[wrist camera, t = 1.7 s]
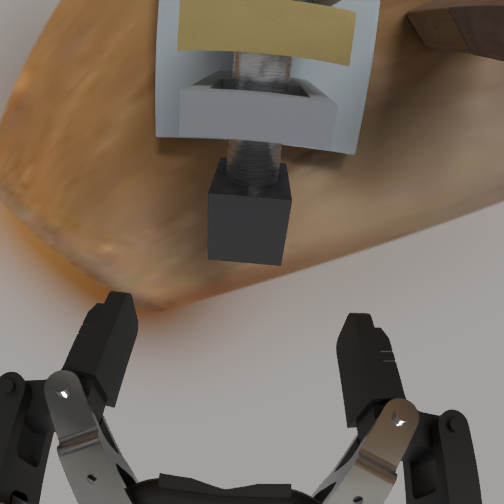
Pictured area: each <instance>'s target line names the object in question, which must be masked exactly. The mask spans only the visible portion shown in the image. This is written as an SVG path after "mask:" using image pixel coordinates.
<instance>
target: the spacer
mask: <svg viewBox="0 0 504 504" xmlns="http://www.w3.org/2000/svg"><path fill="white" fill-rule="evenodd" d="M355 20H356V12H353V11H349V10H344V9H340V8H335V7H330V6H325V5H319V4H313V3H307V2H301V1H293V0H180V9H179V23H178V39H177V51H190V50H204V51H236V52H252V53H264V54H274V55H283V56H291V57H299V58H306V59H312V60H318V61H324V62H330V63H335V64H340V65H345V66H349V65H350V58H351V51H352V44H353V36H354V28H355Z"/></svg>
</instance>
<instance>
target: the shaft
mask: <svg viewBox="0 0 504 504" xmlns="http://www.w3.org/2000/svg"><path fill="white" fill-rule="evenodd" d="M293 1H299V0H293ZM292 60H293V57H291V56H283V55H274V54H264V53H252V52H236V51H234V62H233V75H232V89H231V90H246V91H258V92H269V93H278V94H287V95H288V94H289V85H290V77H291V68H292ZM281 150H282V144H281V143H271V142H261V141H250V140H237V139H228V152H227V158H221V160H220V162H219V165H218V168H217V170H216V173H215V176H214V179H213V181H212V184H211V187H210V190H209V193H208V259H211V260H222V261H233V262H244V263H255V264H267V265H278V266H281V262H282V256H283V251H284V245H285V239H286V233H287V227H288V221H289V215H290V209H291V203H292V198H291V191H290V185H289V179H288V172H287V166H286V164H285V163H280V158H281Z"/></svg>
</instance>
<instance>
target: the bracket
mask: <svg viewBox="0 0 504 504" xmlns="http://www.w3.org/2000/svg"><path fill="white" fill-rule="evenodd" d="M299 1H301V2H307V3H313V4H319V5H325V6H330V7H335V8H340V9H344V10H349V11H353V12H356V20H355V28H354V36H353V44H352V51H351V58H350V65H349V66H345V65H340V64H335V63H330V62H324V61H318V60H312V59H306V58H299V57H293V60H292V68H291V77H290V85H289V94H288V95H287V94H278V93H269V92H258V91H246V90H231V89H232V75H233V62H234V51H204V50H190V51H177V39H178V23H179V9H180V0H159V7H158V22H157V41H156V74H155V121H156V137H176V138H203V139H221V140H228V139H237V140H250V141H261V142H271V143H281V144H282V145H288V146H296V147H304V148H312V149H319V150H326V151H333V152H339V153H345V154H352V155H355V152H356V147H357V142H358V137H359V132H360V128H361V122H362V117H363V112H364V107H365V101H366V96H367V90H368V84H369V78H370V72H371V66H372V60H373V53H374V46H375V39H376V32H377V24H378V15H379V7H380V0H299Z"/></svg>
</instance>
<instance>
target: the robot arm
mask: <svg viewBox="0 0 504 504" xmlns="http://www.w3.org/2000/svg"><path fill="white" fill-rule="evenodd" d="M137 332H138V319H137V315H136V311H135V307H134V303H133V298H132V295H131V294H130V293H124V292H116V291H111V292H110V293H109V294H108V297H107V299H106V301H105V303H104V304H101V303H97V304H96V305H95V306H94V307H93V308H92V309H91V310H90V311H89V312H88V314H87V316H86V318H85V320H84V322H83V325H82V326H81V328H80V331H79V334H78V335H77V337H76V339H75V341H74V343H73V346H72V348H71V350H70V352H69V355H68V357H67V359H66V362H65V364H64V366H63V368H62V369H61V370H60V371H57V372H55V373H53V374H52V375H50V376H49V378H48V379H46V380H32V381H25V380H24V379H23V378H22V377H21V375H19V374H18V373H15V372H8V373H5V374H3V375H2V376H1V377H0V504H39V500H40V495H41V489H42V483H43V478H44V473H45V468H46V463H47V459H48V454H49V450H50V446H51V442H52V437H53V434H54V432H56V434H57V437H58V440H59V446H58V447H57V452H58V456H59V459H60V461H61V464H62V467H63V469H64V472H65V474H66V477H67V479H68V481H69V484H70V486H71V488H72V490H73V493H74V495H75V497H76V499H77V502H78V504H383V503H384V501H385V499H386V498H387V496H388V494H389V493H390V491H391V489H392V487H393V486H394V484H395V481H396V479H397V474H396V473H395V472H396V469H397V466H398V465H399V462H400V461H403V467H404V479H405V491H406V504H482V500H481V491H480V484H479V477H478V471H477V465H476V459H475V454H474V449H473V444H472V439H471V434H470V430H469V425H468V422H467V420H466V418H465V416H464V415H463V414H461V413H460V412H459V411H456V410H448V411H445V412H444V413H443V414H442V415H440V416H437V415H432V414H428V413H423V412H419V411H417V409H416V407H415V406H414V405H413V404H412V403H411V402H410V401H408V400H406V398H405V395H404V391H403V387H402V383H401V379H400V376H399V372H398V369H397V365H396V362H395V358H394V354H393V353H392V348H391V344H390V341H389V338H388V337H387V335H386V334H385V333H384V331H383V330H382V329H381V328H374V325H373V321H372V318H371V316H370V314H367V313H349V315H348V316H347V319H346V321H345V324H344V326H343V328H342V330H341V332H340V335H339V337H338V340H337V346H336V349H337V359H338V365H339V371H340V378H341V384H342V391H343V398H344V405H345V413H346V420H347V427H348V428H350V427H357V431H358V435H357V436H356V437H355V439H354V440H353V442H352V443H351V445H350V446H349V448H348V450H347V451H346V452H345V454H344V456H343V457H342V458H341V460H340V461H339V463H338V464H337V466H336V467H335V468H334V470H333V471H332V472H331V474H330V475H329V476H328V477H327V478H326V479H325V480H324V481H323V482H322V484H321V485H320V486H319V487H318V489H317V490H316V491H315V492H314V494H313V495H312V496H309V495H307V494H305V493H302V492H299V491H297V490H292V489H291V484H256V485H250V486H245V487H239V488H233V489H221V488H218V487H215V486H212V485H209V484H206V483H203V482H200V481H198V480H195V479H192V478H185V477H179V476H173V475H167V474H161V473H160V476H159V478H157V479H149V480H145V481H142V482H138V480H137V479H136V477H135V475H134V473H133V472H132V470H131V469H130V467H129V465H128V463H127V462H126V461H125V459H124V458H123V456H122V454H121V452H120V450H119V448H118V446H117V444H116V443H115V440H114V438H113V436H112V434H111V431H110V429H109V427H108V425H107V423H106V420H105V418H104V416H103V412H104V408H105V405H106V406H110V407H115V404H116V401H117V397H118V394H119V390H120V387H121V384H122V380H123V377H124V374H125V371H126V367H127V364H128V361H129V358H130V355H131V352H132V349H133V346H134V342H135V339H136V336H137Z"/></svg>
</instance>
